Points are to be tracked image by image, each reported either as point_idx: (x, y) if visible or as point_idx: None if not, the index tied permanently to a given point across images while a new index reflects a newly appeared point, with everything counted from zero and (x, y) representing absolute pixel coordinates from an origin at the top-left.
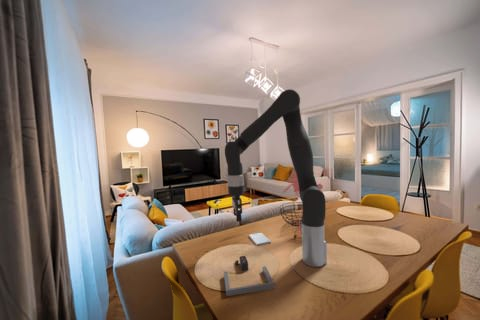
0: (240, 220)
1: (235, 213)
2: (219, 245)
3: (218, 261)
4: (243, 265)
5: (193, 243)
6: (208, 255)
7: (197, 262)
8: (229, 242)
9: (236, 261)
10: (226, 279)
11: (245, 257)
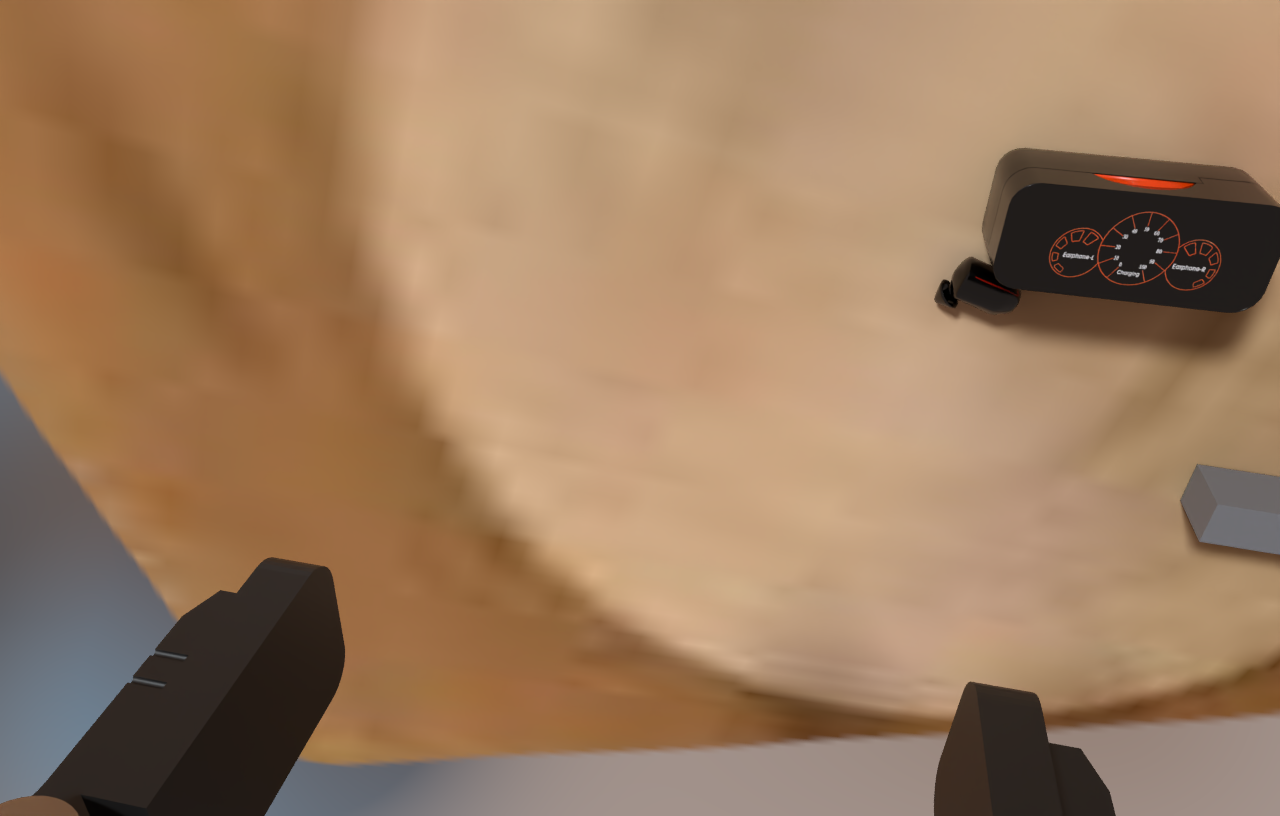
0: (1085, 764)
1: (302, 692)
2: (373, 380)
3: (799, 480)
4: (1257, 282)
5: None
6: (610, 549)
7: (727, 667)
8: (296, 223)
9: (984, 305)
10: None
11: (1074, 194)
